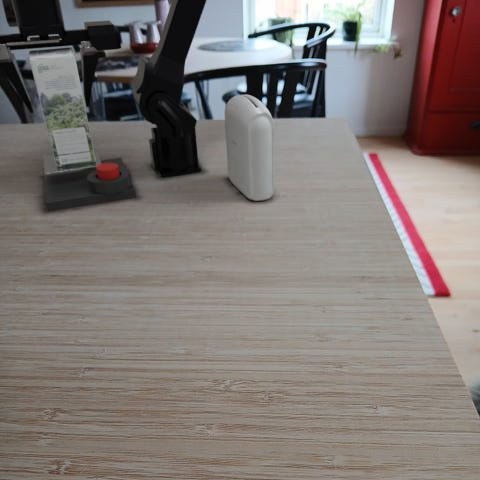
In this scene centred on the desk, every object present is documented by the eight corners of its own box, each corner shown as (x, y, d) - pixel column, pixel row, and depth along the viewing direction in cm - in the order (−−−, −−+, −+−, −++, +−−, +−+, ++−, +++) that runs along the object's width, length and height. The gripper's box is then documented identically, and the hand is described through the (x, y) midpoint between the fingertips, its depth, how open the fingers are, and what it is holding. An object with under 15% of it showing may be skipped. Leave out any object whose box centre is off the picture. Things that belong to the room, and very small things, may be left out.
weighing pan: (97, 151, 80) (96, 148, 80) (102, 168, 74) (102, 165, 74) (43, 158, 78) (43, 155, 78) (45, 176, 72) (44, 173, 72)
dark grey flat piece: (122, 165, 83) (119, 147, 81) (136, 199, 72) (133, 178, 70) (45, 176, 80) (40, 157, 78) (48, 213, 69) (42, 192, 67)
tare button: (118, 172, 73) (116, 161, 72) (121, 179, 71) (119, 168, 70) (97, 175, 73) (95, 164, 72) (99, 182, 70) (97, 171, 69)
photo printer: (224, 178, 77) (219, 90, 70) (251, 173, 78) (249, 86, 71) (249, 204, 69) (246, 108, 62) (278, 198, 70) (279, 104, 63)
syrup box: (93, 150, 79) (72, 45, 70) (97, 163, 74) (74, 52, 66) (55, 155, 78) (28, 48, 69) (56, 168, 73) (27, 56, 64)
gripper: (101, -31, 71) (119, 90, 80) (-46, -25, 66) (-8, 102, 75) (110, -28, 62) (130, 107, 71) (-57, -20, 58) (-13, 123, 67)
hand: (60, 109), depth 72 cm, fingers open, 7 cm apart
